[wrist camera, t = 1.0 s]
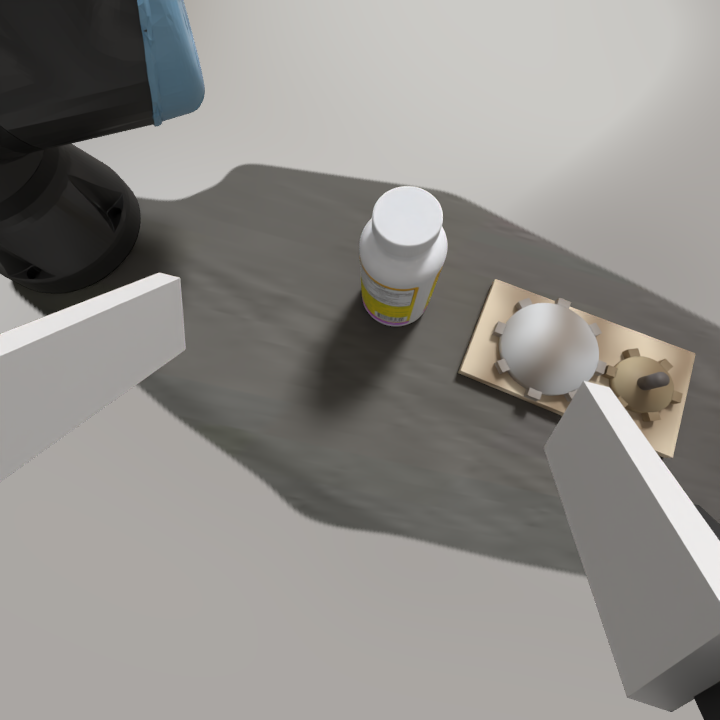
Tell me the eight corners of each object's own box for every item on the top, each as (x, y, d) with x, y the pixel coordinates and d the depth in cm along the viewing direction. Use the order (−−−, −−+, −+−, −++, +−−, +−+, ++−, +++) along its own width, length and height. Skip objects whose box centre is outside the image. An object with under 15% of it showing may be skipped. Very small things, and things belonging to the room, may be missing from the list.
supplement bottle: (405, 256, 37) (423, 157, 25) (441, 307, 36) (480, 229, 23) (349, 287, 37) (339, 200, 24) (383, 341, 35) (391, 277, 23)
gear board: (457, 372, 34) (468, 362, 30) (492, 283, 36) (505, 264, 33) (663, 457, 32) (702, 457, 28) (686, 356, 34) (724, 344, 30)
